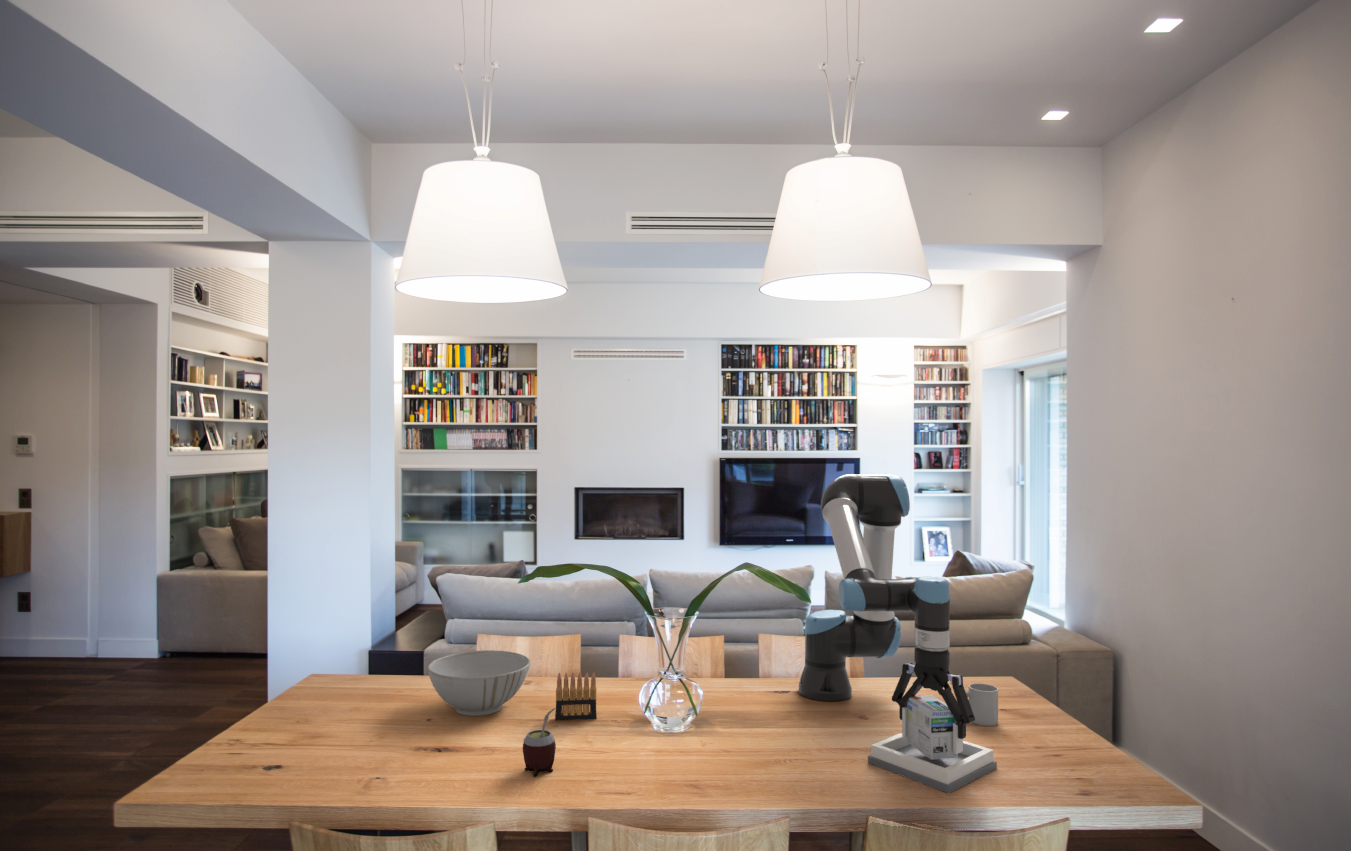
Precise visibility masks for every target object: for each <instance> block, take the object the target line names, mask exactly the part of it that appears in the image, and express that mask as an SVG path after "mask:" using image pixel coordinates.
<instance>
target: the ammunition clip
mask: <svg viewBox="0 0 1351 851" xmlns="http://www.w3.org/2000/svg"><path fill="white" fill-rule="evenodd" d="M582 678H583V677H582V673H581V671H580V672H578V675H577V679H576V676H575V673H574V672H572V673H571V676H570V684H569V676H568V672H565V674H564V678H563V681H562V674H561V673H560V672H559V673H558V675H557V679H556V688H555V714H554V717H555V718H554V721H556V722H558V721H560V722H561V721H584V720H585V721H586V720H589V721H590V720H597V718H598V716H597V715H598V714H597V683H596V680H597V679H596V674H595V671H592V674H591V679H589V674H588V671H586V672H585V673H584V679H583V680H582ZM576 680H577V682H576ZM589 680H590V681H589ZM576 683H577V684H576ZM569 685H570V686H569Z"/></svg>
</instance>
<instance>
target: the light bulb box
mask: <svg viewBox="0 0 1351 851" xmlns="http://www.w3.org/2000/svg"><path fill="white" fill-rule="evenodd" d="M907 706H908V743H909V744H911V745H912V746H913V747H915V748H916V749H917V750H919V751H920V752H922V753H923V754H924V755H926V756H927V757H928V758H930V759H931V760H934V759H947V758H957V757H958V754H954V753H953V723H955V722H956V720H955V718H954V717H953V715H952V713H951V711H950V710H949V708H948V706H947V704H946V703H945V701H944V700H941V699H940V698H937V697H936V696H935V695H933V694H925V695H915V696H913V697H910V698H909V699H908V701H907Z"/></svg>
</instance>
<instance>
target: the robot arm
mask: <svg viewBox="0 0 1351 851" xmlns="http://www.w3.org/2000/svg"><path fill="white" fill-rule="evenodd" d="M910 505H911V501H910V495H909V491H908V487H907V483H906V482H905V480H904V479H903V478H902V477H901V476H900V475H897V474H887V473H883V474H882V473H877V474H876V473H875V474H873V473H871V474H867V473H866V474H860V473H859V474H855V473H850V474H849V473H847V474H843V475H841V476H838V477H837V478H835V479H834V480H832V481H831V482H830V483H829V484H828V485H827V487H826V488H825V490H824V492H823V494H822V497H821V501H820V510H821V514H822V517H823V520H824V521H825V522H826V523H827V524H828V525H829V526H828V527H829V528H830V529H829V530H830V534H831V537H832V541H833V544H834V547H835V551H836V555H837V559H838V562H839V566H840V569H841V570H840V571H841V574H842V577H843V579H841V580H840V581H839V584H838V600H839V604H840V606H841V608H842V609H843V610H841V609H823V610H817V611H813V612H811V613H810V614H808V615H807V616H806V618H805V625H804V667H803V670H802V673H801V676H800V680H799V682H798V693H799V694H800V695H802V696H803V697H805V698H807V699H812V700H816V701H825V702H838V701H840V702H841V701H845V700H847V699H850V698H851V697H852V694H853V693H852V692H853V691H852V690H853V688H852V685H851V682H850V679H849V675H848V671H847V667H846V663H847V662H846V659H847V658H871V659H874V658H875V659H876V658H877V659H881V658H891V657H893V656H894V655H895V654H897V652H898V650H899V647H900V643H901V636H902V633H901V629H902V628H901V622H900V620H899V619H898V617H896V616H895V615H896V614H895V612H913V613H914V644H915V645H916V646H915V647H914V664H913V663H912V662H911V661H909V662H906V663H903V664H902V666H901V667H902V669H901V675H900V677H899V679H898V682H897V684H896V686H895V689H894V691H893V694H892V696H891V701H892V702H894V703H896V704H898V706H899V717H898V718H899V719H900V721H901V728H902V729H901V733H902V736H903V737H906V736H908V706H907V701H908V699H909V698H910V697H913V696H917V694H918V693H919V692H920V690H921V689H922V688H924V689H929V690H932V691H934V692H937V693H938V694H939V696H941V697H942V699H943V702H944V703H946V704H947V706H948V708H949V710H950V711H951V713H952V715H953V717H954V718H955V720H956V722H955V723H953V753H954V754H958V753H960V752H962V751H963V741H964V739H965V738H966V737H967V724H970V723H972V722H973V721H975V717H974V714H973V711H972V708H971V706H970V703H969V697H967V695H966V692H965V691H966V689H965V687H964V677H963V675H962V674H958V675H955V674H951V673H950V671H949V667H950V659H951V658H950V649H949V647H950V644H951V643H950V642H951V641H950V638H951V637H950V633H951V632H950V620H951V619H950V617H951V616H950V613H951V609H950V608H951V607H950V604H951V603H950V602H951V601H950V600H951V592H950V583H949V581H948V580H947V579H946V578H944V577H943V578H942V577H939V576H938V577H937V576H919V577H915V576H908V577H904V578H902V579H900V578H896V579H895V578H892V577H893V562H894V549H895V548H894V547H895V546H894V545H895V531H896V529H897V528H898V527H900V526H901V525H902V518H905V517H907V516H908V515H909V512H910V509H911V507H910ZM857 516H858V517H857ZM860 524H861V525H862V526H863V533H862V531H861V526H860ZM844 610H845V611H844ZM846 611H851V612H852V614H853V615H847V614H846ZM913 674H914V675H915V677H916V679H915V680H913V682H912V685H911V686H910V687H909V688H908V690H907V687H908V686H909V683H910V680H911V678H912V675H913ZM949 681H950V682H949ZM949 683H950V684H949ZM951 686H952V687H951ZM906 690H907V691H906ZM952 690H953V692H952ZM905 692H906V693H905Z"/></svg>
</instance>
